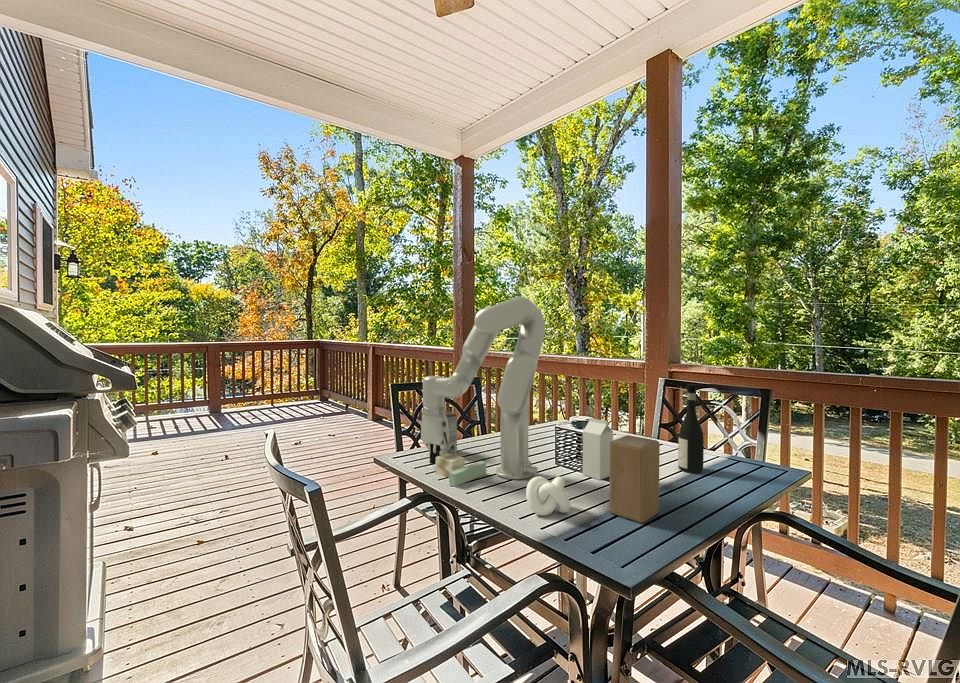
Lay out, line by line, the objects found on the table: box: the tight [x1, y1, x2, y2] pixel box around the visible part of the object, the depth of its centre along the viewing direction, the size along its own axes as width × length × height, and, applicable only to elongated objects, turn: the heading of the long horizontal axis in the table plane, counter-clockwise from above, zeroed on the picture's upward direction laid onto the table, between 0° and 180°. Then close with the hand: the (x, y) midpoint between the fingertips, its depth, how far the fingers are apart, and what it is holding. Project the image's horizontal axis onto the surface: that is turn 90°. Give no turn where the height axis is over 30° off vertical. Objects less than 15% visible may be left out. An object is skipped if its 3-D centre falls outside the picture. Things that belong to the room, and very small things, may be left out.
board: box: [448, 460, 487, 488], centre depth 152 cm, size 2×16×4 cm, turn 141°
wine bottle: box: [677, 383, 705, 474], centre depth 159 cm, size 8×8×30 cm
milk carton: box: [582, 417, 614, 481], centre depth 155 cm, size 7×7×19 cm
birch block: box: [435, 453, 466, 479], centre depth 157 cm, size 8×6×6 cm
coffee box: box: [439, 410, 458, 456], centre depth 182 cm, size 9×6×16 cm
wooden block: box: [608, 434, 660, 524], centre depth 123 cm, size 10×10×20 cm
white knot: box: [525, 475, 571, 517], centre depth 126 cm, size 11×12×9 cm
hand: (434, 462), depth 162 cm, fingers closed
